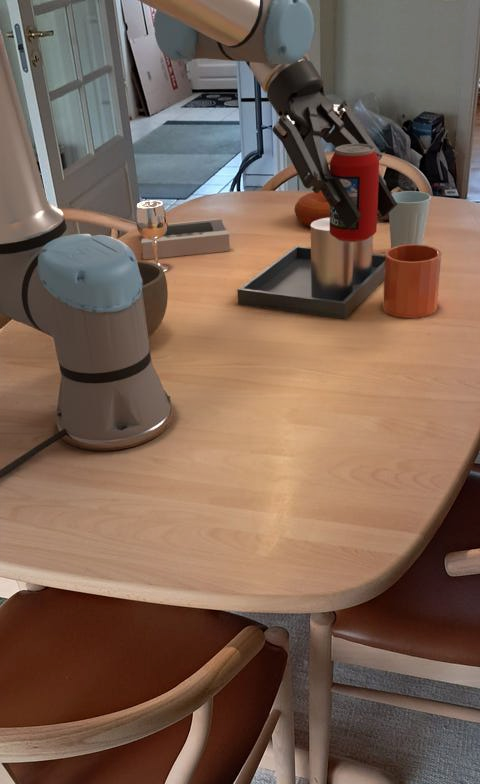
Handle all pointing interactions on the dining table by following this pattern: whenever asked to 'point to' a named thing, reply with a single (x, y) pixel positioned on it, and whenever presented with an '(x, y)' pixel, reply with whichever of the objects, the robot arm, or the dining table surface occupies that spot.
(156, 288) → the bowl
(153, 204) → the wineglass
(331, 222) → the beverage can
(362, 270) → the silver can
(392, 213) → the cup
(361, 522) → the dining table surface
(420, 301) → the terracotta mug
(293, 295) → the tray
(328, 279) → the silver can
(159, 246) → the rectangular box
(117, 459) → the dining table surface
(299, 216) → the donut
